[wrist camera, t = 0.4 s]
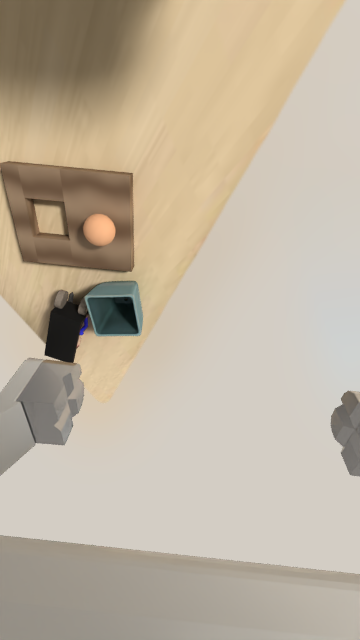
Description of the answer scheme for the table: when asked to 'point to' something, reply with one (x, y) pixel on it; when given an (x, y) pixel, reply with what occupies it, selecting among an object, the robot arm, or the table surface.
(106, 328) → the flower pot
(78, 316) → the figurine character
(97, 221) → the rubber ball
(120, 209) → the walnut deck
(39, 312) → the table surface
